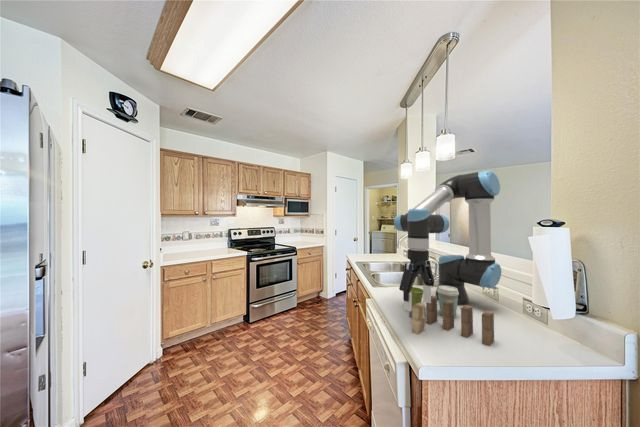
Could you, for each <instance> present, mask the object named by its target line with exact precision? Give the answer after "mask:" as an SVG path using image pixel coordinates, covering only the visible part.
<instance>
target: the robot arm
mask: <svg viewBox="0 0 640 427" xmlns="http://www.w3.org/2000/svg"><path fill="white" fill-rule="evenodd" d="M500 191H501V184H500V180H499V178H498V176H497V174H495V172H493V171H491V170H484V171H477V172H470V173H464V174H457V175H454V176H452V177H450V178H448V179H446V180H445V181H443V182H441V183H440V184H439V185H438V186H436V187H435V189H434V191H433V192H432V193H431V194H430V195H428V196H427V197H425V198H424V199H423V200H422V201H421V202H420V203H418V204H417V205H415V206H414V207H413V208H409V209H408V211H407V213H405V214H398V215H396V216H395V217H394V220H393V226H394V228H395V230H396V231H398V232H399V231H400V232H406V233H407V240H406V241H407V250H406V253H407V254H406V255H407V256H406V257H407V259H408V260H409V261H410V262H409V263H407V262H406V263H405V262H404V263H405V264H404V269H403V273H402V277H401V280H400V285H399V290H400V291H401V292H403V294H402V295H403V296H402V297H403V298H402V299H403V310H406V311H412V292H410V291H411V288H412V287H414V283H415V281H416V278H418V277H419V275H420V277H421V279H422V281H423V283H424V284H423V288H422V289H423V295H422V299H423V300H422V301H423V302H425V303H426V302H427V303H431V296H432V287H434V286H435V278H434V275H433V274H434V273H433V271H432V268H431V261H430V251H429V249H430V234H442V233H443V234H444V233H445V232H447V231H448V230H449V228H450V220H449V218H448V217H447V216H445V215H443V214H440V213H439V214H434V213H436V211H438V210H439V209H440V208H441V207H442V206H443V205H444V204H445V203H450V202H451V201H452V200H455V199H464V202H465V203H467V204H468V253H467V255H465V256H464V255H461V254H449V255H447V254H446V255H440V256H439V258H438V285H437V288H436V290H435V297H437V301H439V298H438V292H437V289H438V287H439V286H451V287H455V288H457V289H458V292H459V295H458V302H457V306H458V305H459V306H460V305H461V306H463V305H468V304H469V301H470V300H469V296H468V292H467V290H466V287H465V284H468V285H473V286H478V287H480V288H487V289H493V288H495V287H496V286H497V285H498V284H499V282H500V279H501V276H502V268H501V265H500V264H499V263H497V262H496V258H495V257H494V256H493V255H492V234H491V233H492V232H491V230H492V229H491V224H492V223H491V218H492V217H491V203H493V202H494V201H495V196H498V195H499V194H500Z"/></svg>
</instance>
